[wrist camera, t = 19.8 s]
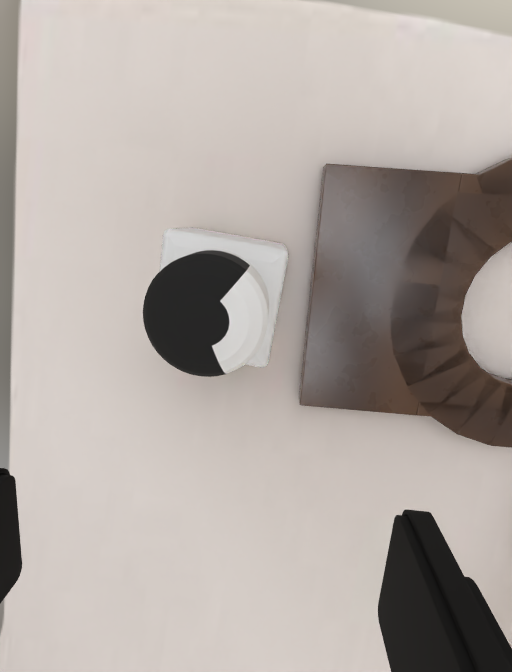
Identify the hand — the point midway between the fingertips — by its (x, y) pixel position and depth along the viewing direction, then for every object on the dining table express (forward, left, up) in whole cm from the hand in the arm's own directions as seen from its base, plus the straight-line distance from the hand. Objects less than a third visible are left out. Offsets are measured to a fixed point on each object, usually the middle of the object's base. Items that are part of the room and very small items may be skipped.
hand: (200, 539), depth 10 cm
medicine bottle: (+2, -3, -23) cm, 23 cm away
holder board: (-17, -3, -22) cm, 28 cm away
